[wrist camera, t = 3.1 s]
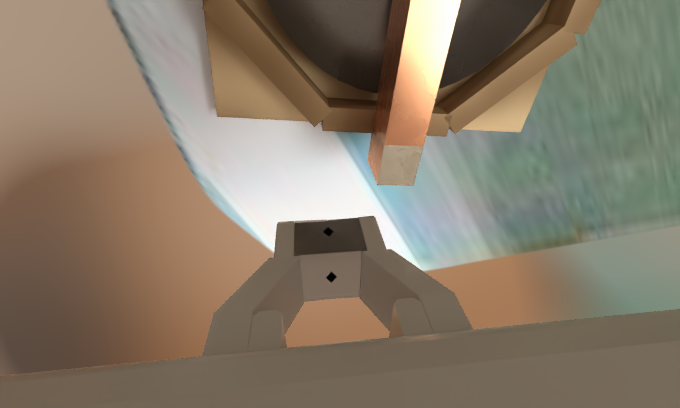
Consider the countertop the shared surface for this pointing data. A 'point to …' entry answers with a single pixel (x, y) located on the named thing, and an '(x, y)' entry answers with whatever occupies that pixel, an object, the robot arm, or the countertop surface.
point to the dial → (402, 58)
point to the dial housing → (359, 105)
